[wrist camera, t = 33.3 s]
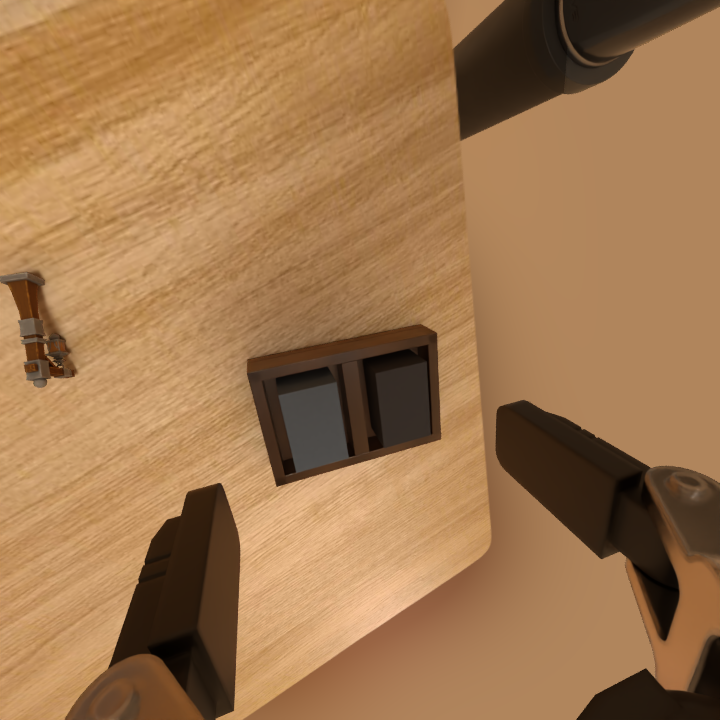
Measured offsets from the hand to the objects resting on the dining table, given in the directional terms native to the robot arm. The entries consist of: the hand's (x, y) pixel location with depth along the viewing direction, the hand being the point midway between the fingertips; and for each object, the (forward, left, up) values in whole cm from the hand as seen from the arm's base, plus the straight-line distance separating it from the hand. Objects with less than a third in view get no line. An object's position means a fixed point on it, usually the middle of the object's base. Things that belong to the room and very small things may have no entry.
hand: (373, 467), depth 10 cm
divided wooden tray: (-4, +10, -24) cm, 26 cm away
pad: (0, +10, -23) cm, 25 cm away
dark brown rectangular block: (-8, +10, -23) cm, 27 cm away
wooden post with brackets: (+18, -2, -24) cm, 30 cm away
